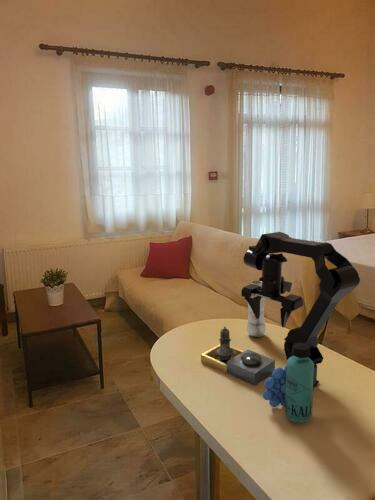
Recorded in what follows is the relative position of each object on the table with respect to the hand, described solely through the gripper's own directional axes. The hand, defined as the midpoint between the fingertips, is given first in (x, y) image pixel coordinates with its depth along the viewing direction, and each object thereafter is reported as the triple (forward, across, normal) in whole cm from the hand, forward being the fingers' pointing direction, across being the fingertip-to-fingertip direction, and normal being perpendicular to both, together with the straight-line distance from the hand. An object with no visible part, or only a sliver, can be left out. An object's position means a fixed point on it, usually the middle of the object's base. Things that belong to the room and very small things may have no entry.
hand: (270, 322), depth 120 cm
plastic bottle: (+13, +14, -12) cm, 23 cm away
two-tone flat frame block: (+13, +5, +9) cm, 17 cm away
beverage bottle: (+13, -21, +19) cm, 31 cm away
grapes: (+13, -15, +16) cm, 26 cm away
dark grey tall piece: (+13, +10, +9) cm, 19 cm away
